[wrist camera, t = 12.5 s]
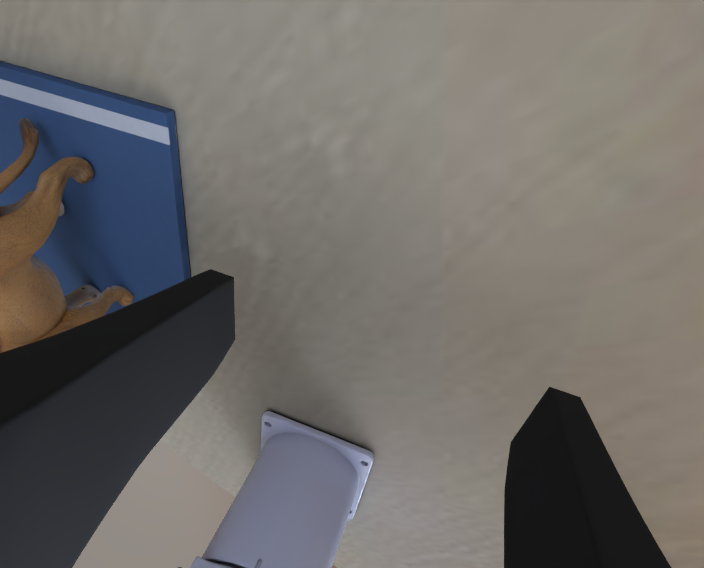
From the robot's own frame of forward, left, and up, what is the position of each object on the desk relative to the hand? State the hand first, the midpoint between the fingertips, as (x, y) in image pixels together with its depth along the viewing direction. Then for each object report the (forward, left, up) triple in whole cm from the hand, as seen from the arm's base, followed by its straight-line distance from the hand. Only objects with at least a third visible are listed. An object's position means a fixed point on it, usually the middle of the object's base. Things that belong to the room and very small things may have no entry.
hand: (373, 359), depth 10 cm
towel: (-8, +19, -9) cm, 22 cm away
